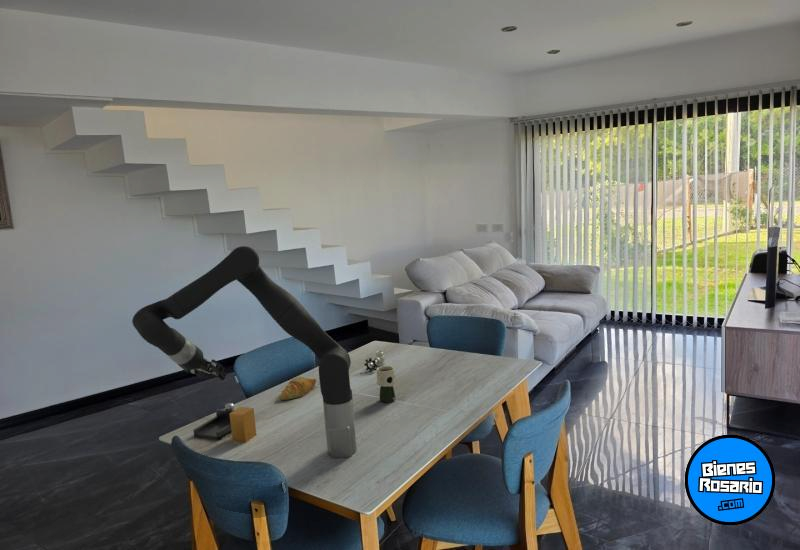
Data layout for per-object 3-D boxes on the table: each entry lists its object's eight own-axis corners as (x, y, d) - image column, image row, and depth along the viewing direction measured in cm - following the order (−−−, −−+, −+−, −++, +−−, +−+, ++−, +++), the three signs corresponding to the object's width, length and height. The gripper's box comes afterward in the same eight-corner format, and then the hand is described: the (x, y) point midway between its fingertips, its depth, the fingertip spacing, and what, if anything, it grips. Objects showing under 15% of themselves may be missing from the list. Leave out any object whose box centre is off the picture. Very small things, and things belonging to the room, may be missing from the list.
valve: (376, 363, 264) (364, 371, 253) (375, 350, 263) (363, 357, 252) (388, 364, 261) (377, 372, 250) (387, 351, 260) (376, 358, 249)
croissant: (286, 411, 220) (291, 396, 217) (269, 397, 224) (273, 382, 221) (320, 392, 238) (325, 378, 234) (304, 379, 242) (308, 365, 238)
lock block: (246, 442, 185) (242, 414, 184) (232, 441, 187) (229, 413, 186) (256, 434, 191) (254, 407, 190) (243, 433, 193) (240, 406, 191)
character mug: (387, 406, 209) (384, 374, 207) (372, 403, 213) (369, 371, 211) (402, 397, 218) (400, 365, 216) (388, 394, 222) (385, 363, 220)
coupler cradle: (219, 440, 189) (217, 420, 188) (194, 436, 192) (191, 417, 191) (246, 422, 202) (244, 403, 201) (221, 419, 206) (219, 401, 205)
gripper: (207, 343, 166) (235, 367, 178) (171, 341, 171) (201, 365, 184) (197, 365, 162) (226, 388, 174) (160, 362, 167) (191, 385, 179)
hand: (213, 376), depth 179 cm, fingers open, 8 cm apart
